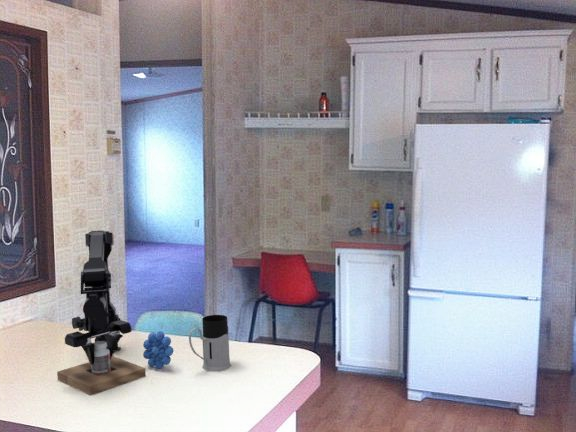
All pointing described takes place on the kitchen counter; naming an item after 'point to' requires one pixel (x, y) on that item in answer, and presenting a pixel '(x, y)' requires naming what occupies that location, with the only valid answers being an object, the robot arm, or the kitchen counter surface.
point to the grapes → (158, 350)
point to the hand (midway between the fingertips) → (100, 361)
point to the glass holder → (214, 343)
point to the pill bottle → (101, 358)
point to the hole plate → (101, 376)
